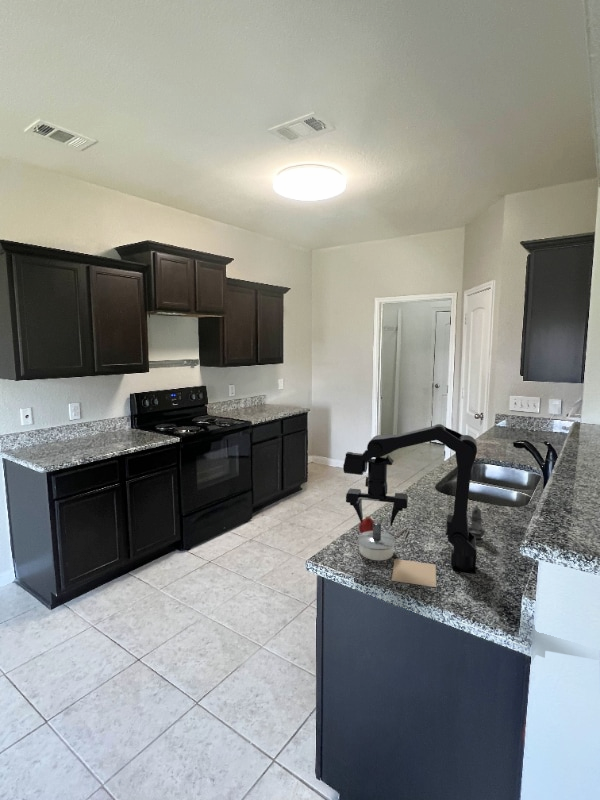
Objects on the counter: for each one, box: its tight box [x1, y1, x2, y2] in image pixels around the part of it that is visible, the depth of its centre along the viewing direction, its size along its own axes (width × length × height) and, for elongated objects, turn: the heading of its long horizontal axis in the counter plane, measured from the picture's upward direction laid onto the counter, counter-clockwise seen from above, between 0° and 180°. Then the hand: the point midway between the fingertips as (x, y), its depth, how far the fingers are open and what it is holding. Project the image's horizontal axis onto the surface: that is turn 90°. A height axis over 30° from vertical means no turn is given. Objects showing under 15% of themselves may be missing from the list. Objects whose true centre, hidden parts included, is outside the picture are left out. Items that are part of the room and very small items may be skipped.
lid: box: [358, 521, 396, 550], centre depth 135 cm, size 12×12×6 cm
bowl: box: [358, 542, 395, 561], centre depth 136 cm, size 11×11×4 cm
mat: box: [391, 558, 437, 588], centre depth 124 cm, size 12×12×1 cm
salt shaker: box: [468, 505, 486, 544], centre depth 143 cm, size 6×6×12 cm
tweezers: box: [392, 525, 411, 542], centre depth 151 cm, size 17×5×2 cm, turn 148°
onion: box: [358, 516, 375, 534], centre depth 145 cm, size 6×6×8 cm
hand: (376, 523), depth 135 cm, fingers open, 9 cm apart
